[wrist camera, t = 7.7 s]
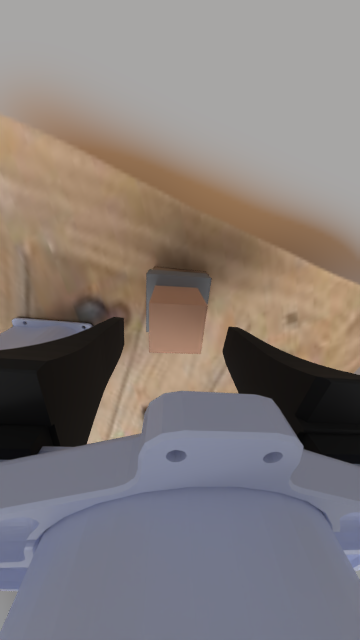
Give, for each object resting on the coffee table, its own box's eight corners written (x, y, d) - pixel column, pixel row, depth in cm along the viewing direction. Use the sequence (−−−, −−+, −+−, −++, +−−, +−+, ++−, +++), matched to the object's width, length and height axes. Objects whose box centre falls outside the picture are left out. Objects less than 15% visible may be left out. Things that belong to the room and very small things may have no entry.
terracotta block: (154, 323, 18) (149, 352, 13) (155, 285, 16) (149, 303, 12) (193, 325, 18) (200, 353, 14) (197, 287, 16) (207, 305, 12)
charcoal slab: (149, 321, 20) (146, 331, 18) (149, 269, 18) (146, 273, 16) (199, 324, 21) (202, 334, 19) (206, 273, 18) (211, 278, 16)
